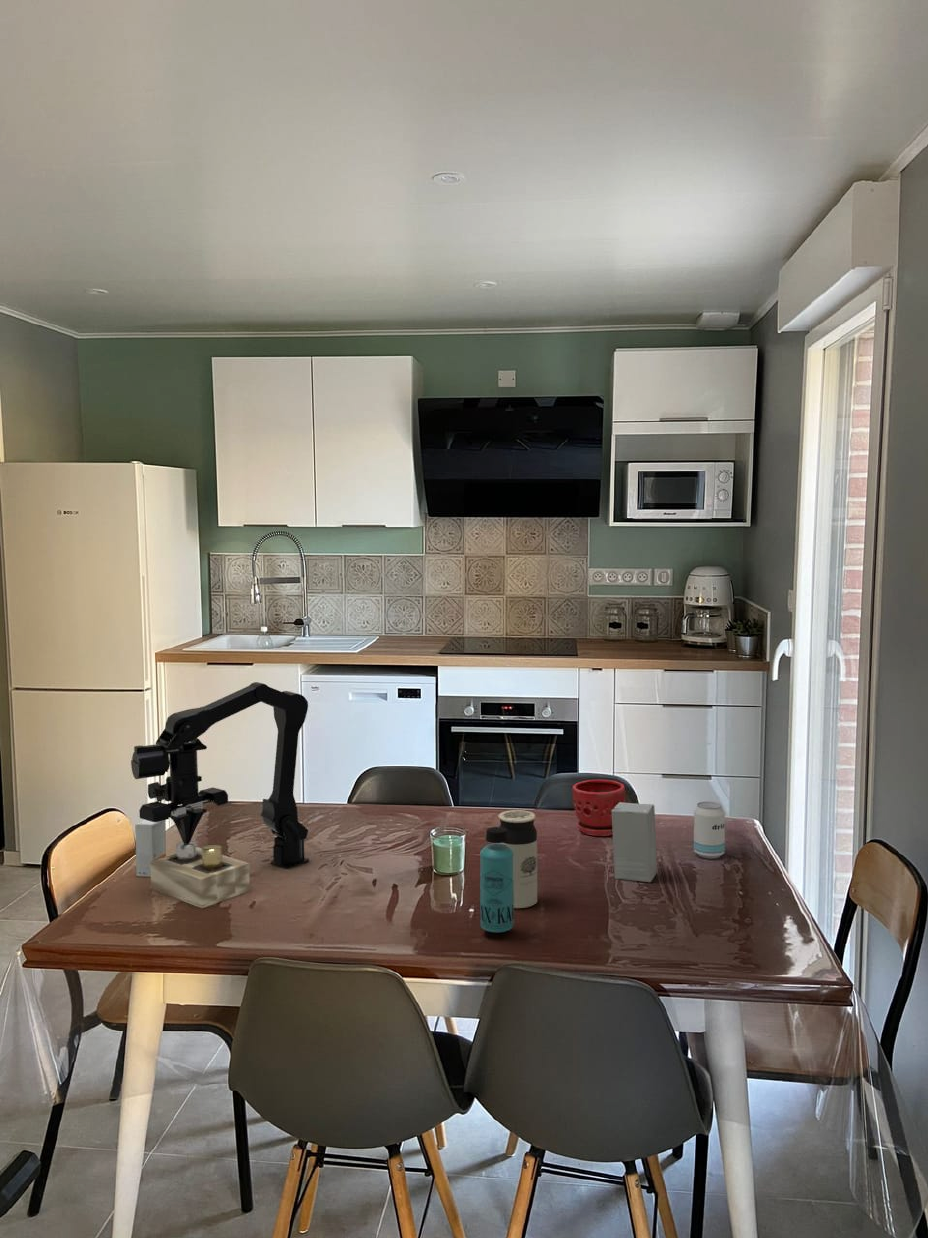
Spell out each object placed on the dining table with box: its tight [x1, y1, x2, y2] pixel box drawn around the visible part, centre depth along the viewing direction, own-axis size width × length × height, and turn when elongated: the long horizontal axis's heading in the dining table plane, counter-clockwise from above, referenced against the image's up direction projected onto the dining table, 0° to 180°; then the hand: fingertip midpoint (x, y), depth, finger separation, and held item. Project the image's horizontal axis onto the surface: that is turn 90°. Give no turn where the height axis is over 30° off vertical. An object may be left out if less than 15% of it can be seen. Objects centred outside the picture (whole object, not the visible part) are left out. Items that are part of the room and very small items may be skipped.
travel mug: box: [497, 809, 538, 909], centre depth 187 cm, size 8×8×18 cm
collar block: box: [150, 846, 251, 909], centre depth 197 cm, size 12×18×6 cm, turn 51°
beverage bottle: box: [478, 826, 515, 933], centre depth 172 cm, size 6×7×20 cm
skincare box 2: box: [612, 802, 658, 883], centre depth 201 cm, size 8×7×16 cm
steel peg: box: [176, 840, 197, 863], centre depth 199 cm, size 4×4×5 cm
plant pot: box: [572, 779, 626, 837], centre depth 234 cm, size 13×13×12 cm
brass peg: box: [202, 844, 223, 872], centre depth 193 cm, size 4×4×5 cm
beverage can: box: [693, 801, 726, 860], centre depth 214 cm, size 7×7×12 cm
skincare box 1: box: [134, 819, 167, 878], centre depth 208 cm, size 6×4×12 cm
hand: (186, 843), depth 199 cm, fingers closed, pressing on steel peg
